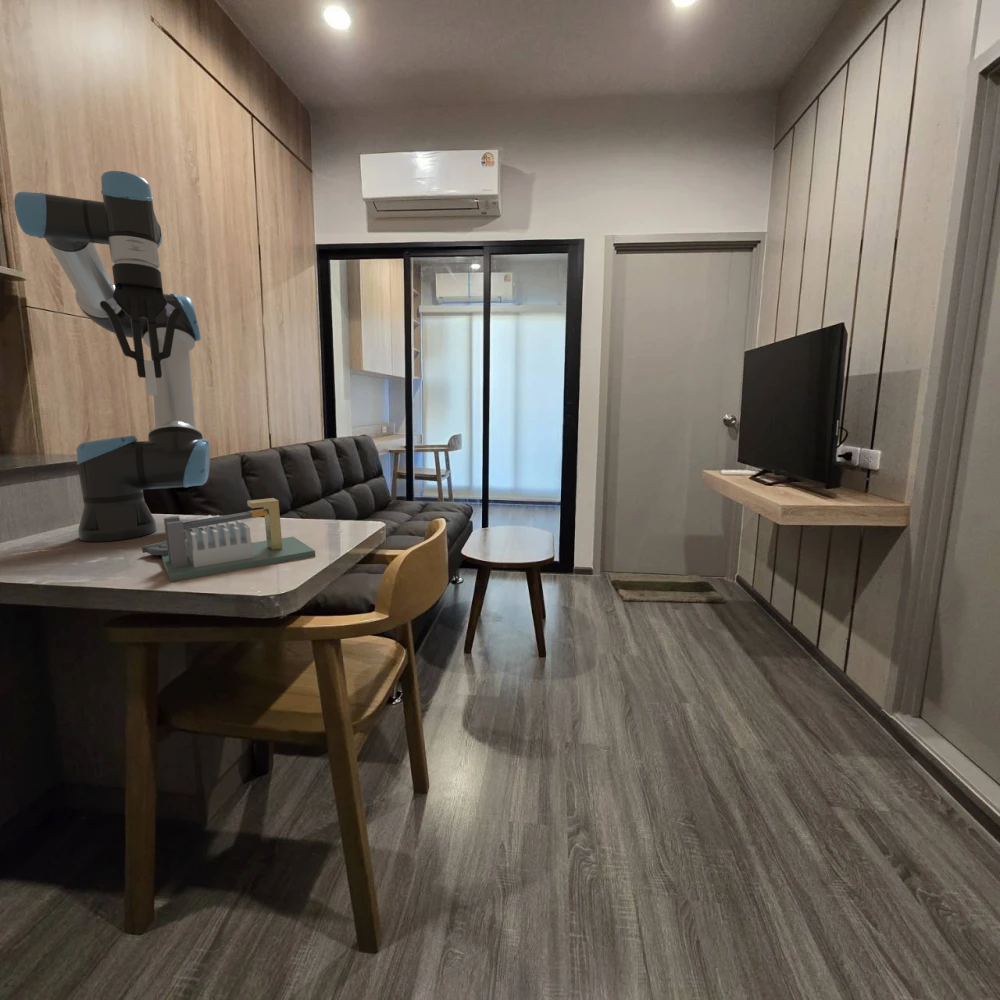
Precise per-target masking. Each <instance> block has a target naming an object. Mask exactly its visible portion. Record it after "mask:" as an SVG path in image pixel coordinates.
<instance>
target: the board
mask: <svg viewBox="0 0 1000 1000" xmlns="http://www.w3.org/2000/svg"><path fill="white" fill-rule="evenodd" d="M163 522H164V523H163V525H164V532H165V541H167V549H168V556H162V555H161V560H162V564H163V567H164V569H165V572H166V573H167V576H168V577H169V581H170V582H176V581H177V582H178V581H183V580H189V579H195V578H200V577H205V576H211V575H216V574H222V573H228V572H234V571H235V572H236V571H240V570H246V569H250V568H252V569H253V568H256V567H262V566H263V567H264V566H268V565H274V564H280V563H285V562H290V561H297V560H300V559H301V560H302V559H306V558H313V557H312V556H314V557H316V550H315V549H314V548H312V547H310V546H308V545H307V543H304V542H303V541H301V540H300V539H298V538H296V537H294V536H290V537H288V536H287V537H282V549H276V550H271V549H270V548H269V547H268V546H267V540H261V541H256V542H252V539H251V538H252V537H251V528H250V527H249V526H248V525H247V524H246V523H244V522H243V520H237V521H235V524H234V523H233V521H231V522H225V525H224V524H223V523H220V524H215V528H216V529H217V530H216V529H215V528H214V526H213V525H208V526H205V528H206V531H207V533H206V531H205V528H203V527H197V528H195V531H193V528H191V529H186V530H184V528H183V523H184V522H183V520H180V516H179V515H177V516H170V517H163ZM196 535H197V539H196ZM185 536H186V541H185ZM185 542H186V545H185ZM186 551H187V553H186Z"/></svg>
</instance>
